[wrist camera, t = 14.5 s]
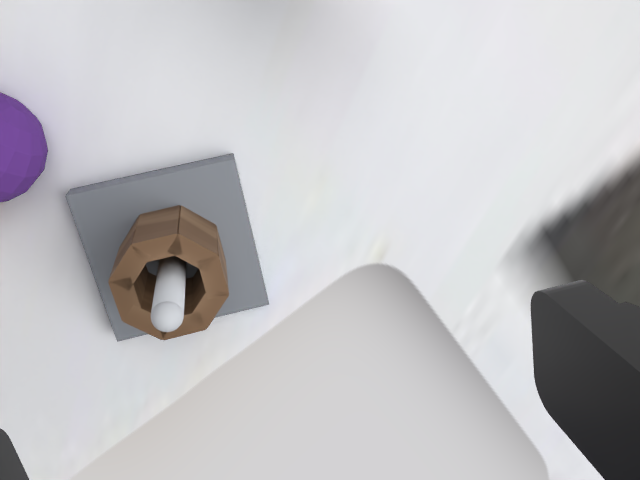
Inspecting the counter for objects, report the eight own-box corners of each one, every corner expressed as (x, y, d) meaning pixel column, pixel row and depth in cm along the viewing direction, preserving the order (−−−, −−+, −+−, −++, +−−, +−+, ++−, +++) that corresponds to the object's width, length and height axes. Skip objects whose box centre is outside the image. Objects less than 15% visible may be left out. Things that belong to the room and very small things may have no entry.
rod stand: (70, 188, 37) (24, 254, 27) (233, 153, 38) (245, 204, 28) (120, 330, 41) (95, 431, 31) (266, 294, 42) (287, 382, 32)
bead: (110, 221, 37) (97, 252, 32) (209, 198, 37) (210, 225, 33) (139, 307, 39) (131, 348, 34) (232, 285, 40) (236, 321, 35)
